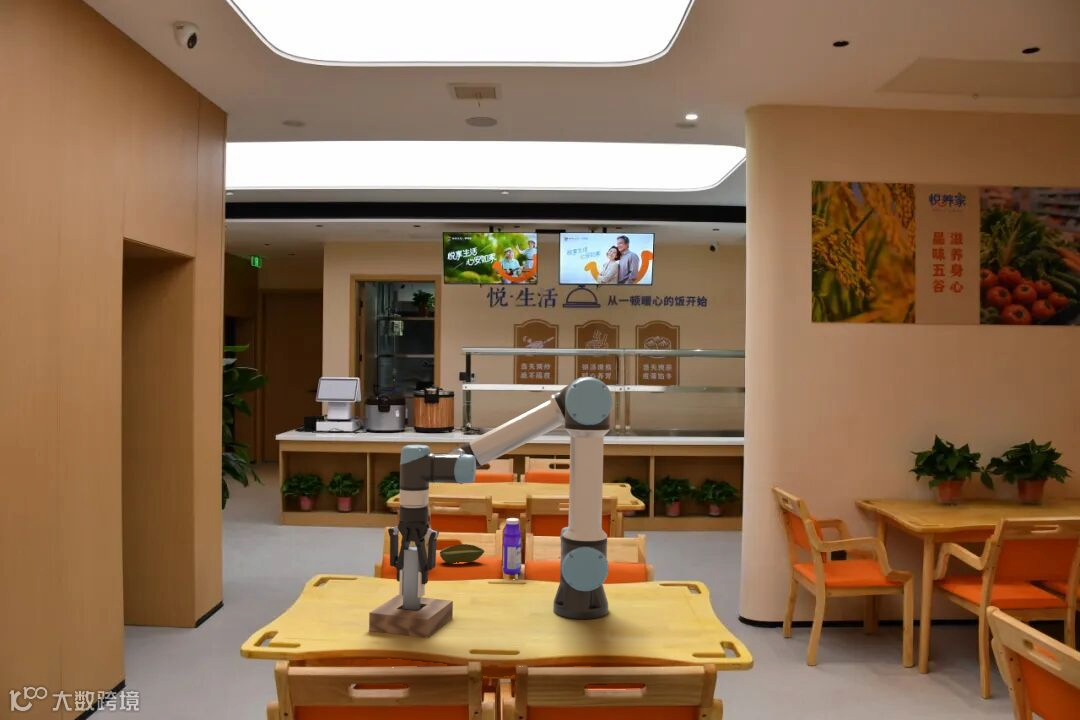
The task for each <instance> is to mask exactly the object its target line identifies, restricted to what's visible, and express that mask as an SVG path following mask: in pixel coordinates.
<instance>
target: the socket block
mask: <svg viewBox="0 0 1080 720" xmlns="http://www.w3.org/2000/svg"><path fill="white" fill-rule="evenodd" d="M453 604H454V600H450V599H440V598H431V597H424V596H422V597H421V600H420V610H419V611H411V610H403V595H402V596H400V595H399V594H397V595H395V596H394V597H392V598H391V599H389V600H388V601H386V602H384V603H383V604H381V605H379V606H378V607H376V608H375V609H372V611H370V612H369V613H368V615H369V618H368V621H369V622H368V631H369V632H370V631H371V632H379V633H385V634H386V633H387V634H395V635H403V636H410V637H419V638H425V639H426V638H429V637H430V636H432V635H433V634H434V633H435V632H436V631H438V630H439V629H440V628H441V627H443V626H444V625H445V624H447V623H448V622H449V621H451V619H453V617H454V616H453V615H454V614H453V613H454V612H453V611H454V605H453Z"/></svg>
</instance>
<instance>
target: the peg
mask: <svg viewBox="0 0 1080 720" xmlns="http://www.w3.org/2000/svg"><path fill="white" fill-rule="evenodd" d="M420 570H421V568H420V562H419V557H418V551H417V547H410V548H407V549H405V550H404V576H403V610H411V611H419V610H420V600H421V598H417V597H418V572H419V571H420Z"/></svg>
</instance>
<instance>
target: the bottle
mask: <svg viewBox="0 0 1080 720" xmlns="http://www.w3.org/2000/svg"><path fill="white" fill-rule="evenodd" d="M505 524H506V525H505V529H504V531H503V534H504V537H503V539H502V540H503V543H502V546H503V547H502V551H503V553H502V572H503V574H504V575H506V576H507V575H508V576H515V575H518V574H520V572H521V570H522V536H521V535H522V531H521V530H520V519H519V518H515V517H510V518H507V519H506V523H505Z"/></svg>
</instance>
